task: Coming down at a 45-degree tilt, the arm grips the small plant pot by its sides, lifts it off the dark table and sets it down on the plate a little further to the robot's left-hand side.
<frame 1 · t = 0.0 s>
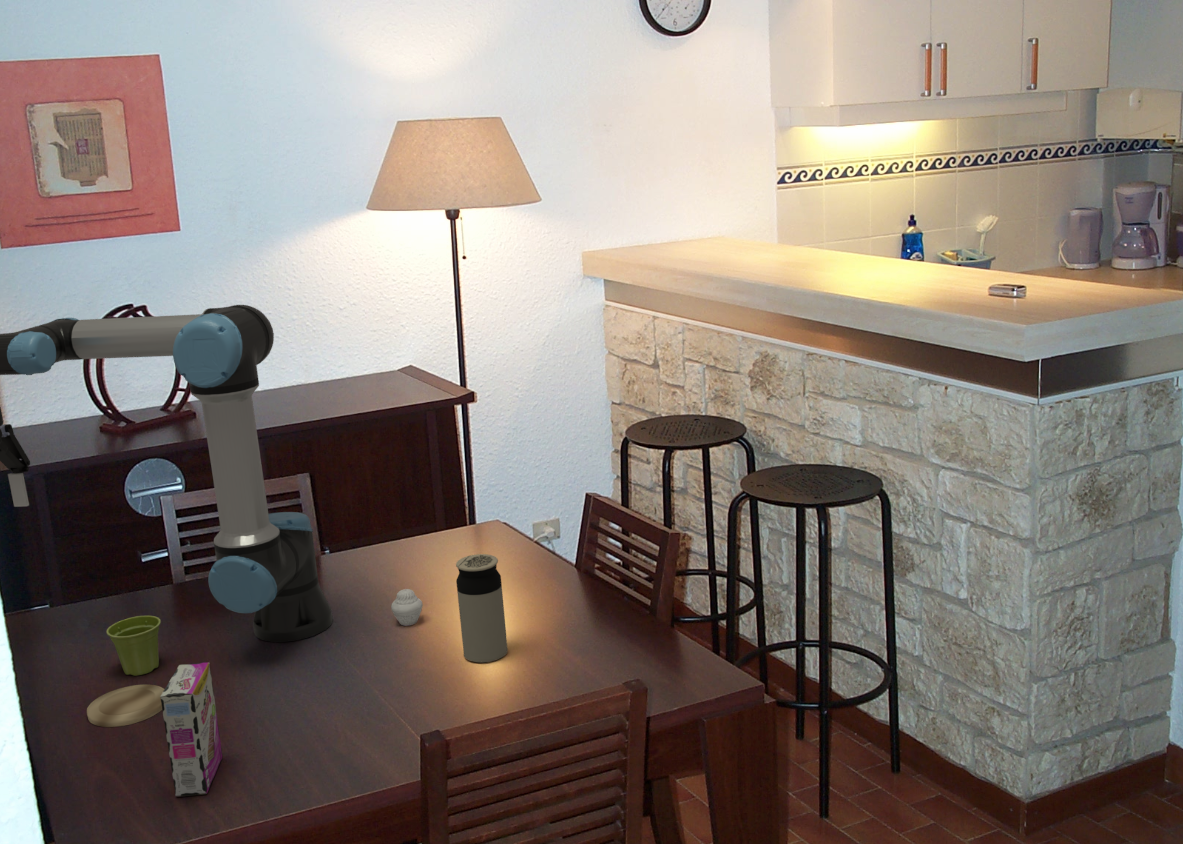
plate: (128, 708, 205), on the table
plant pot: (141, 670, 221), on the table
travel mug: (486, 655, 217), on the table
muffin: (408, 623, 233), on the table
candy bar box: (201, 778, 181), on the table
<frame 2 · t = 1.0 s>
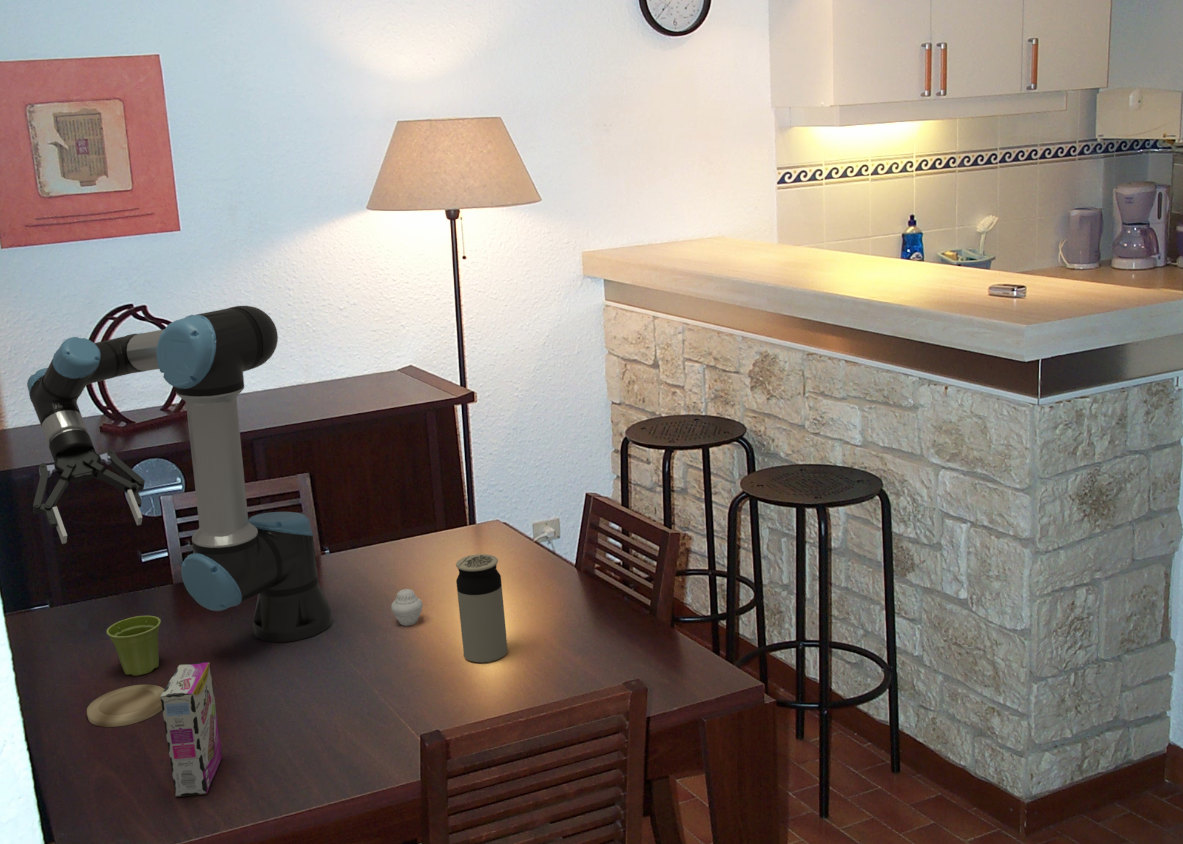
hand: (103, 530, 223), 25 cm above the table, tool tilted 45°, fingers open, 13 cm apart
nothing on the table moved.
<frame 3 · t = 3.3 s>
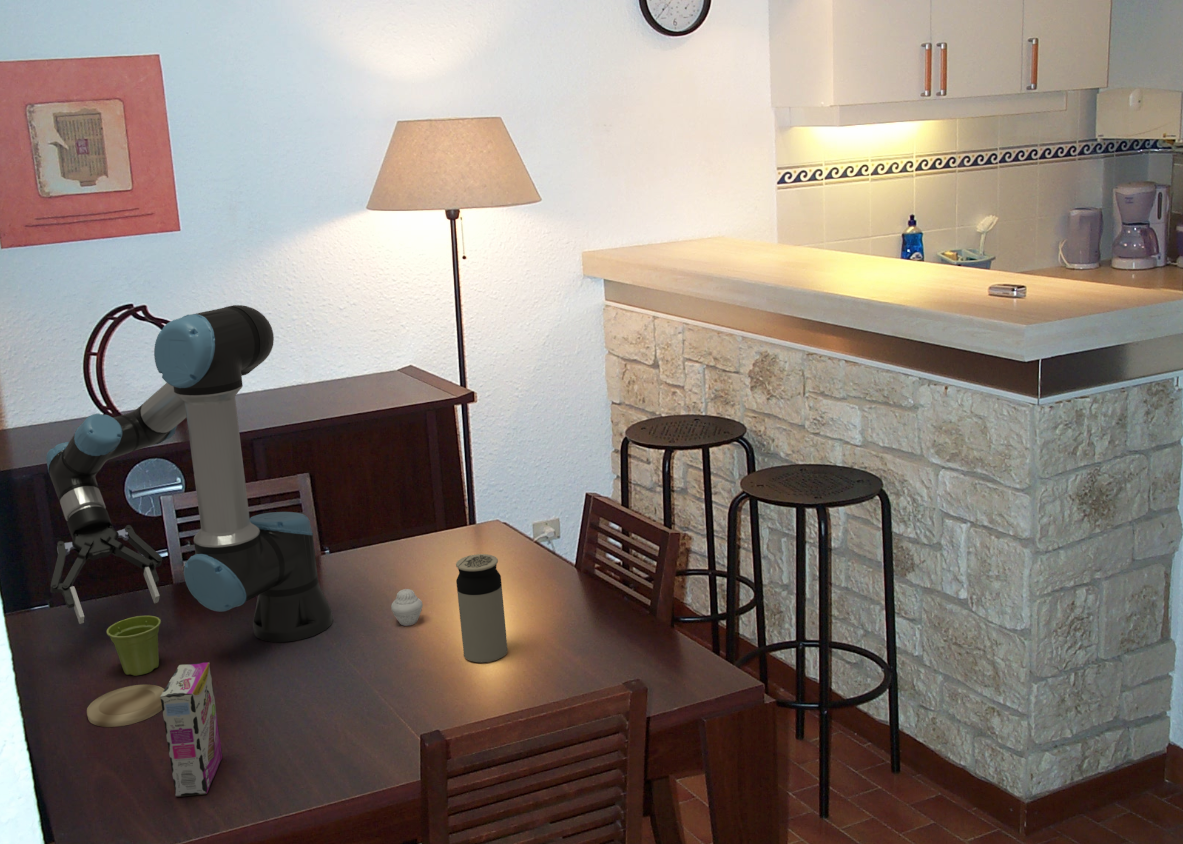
hand: (120, 609, 223), 10 cm above the table, tool tilted 45°, fingers open, 13 cm apart
nothing on the table moved.
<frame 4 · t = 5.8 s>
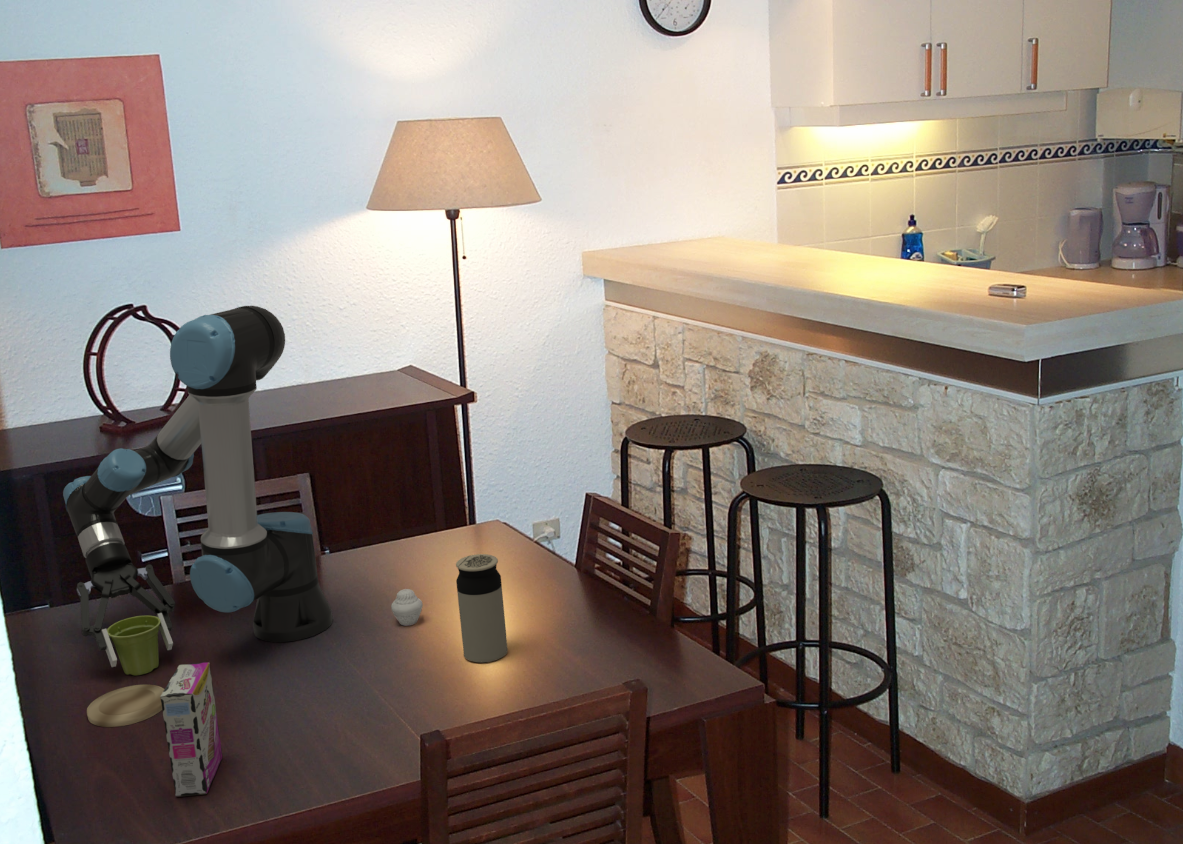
hand: (142, 655, 217), 4 cm above the table, tool tilted 45°, fingers closed on plant pot, 9 cm apart
plant pot: (141, 669, 221), on the table, touching gripper
everything else where it was.
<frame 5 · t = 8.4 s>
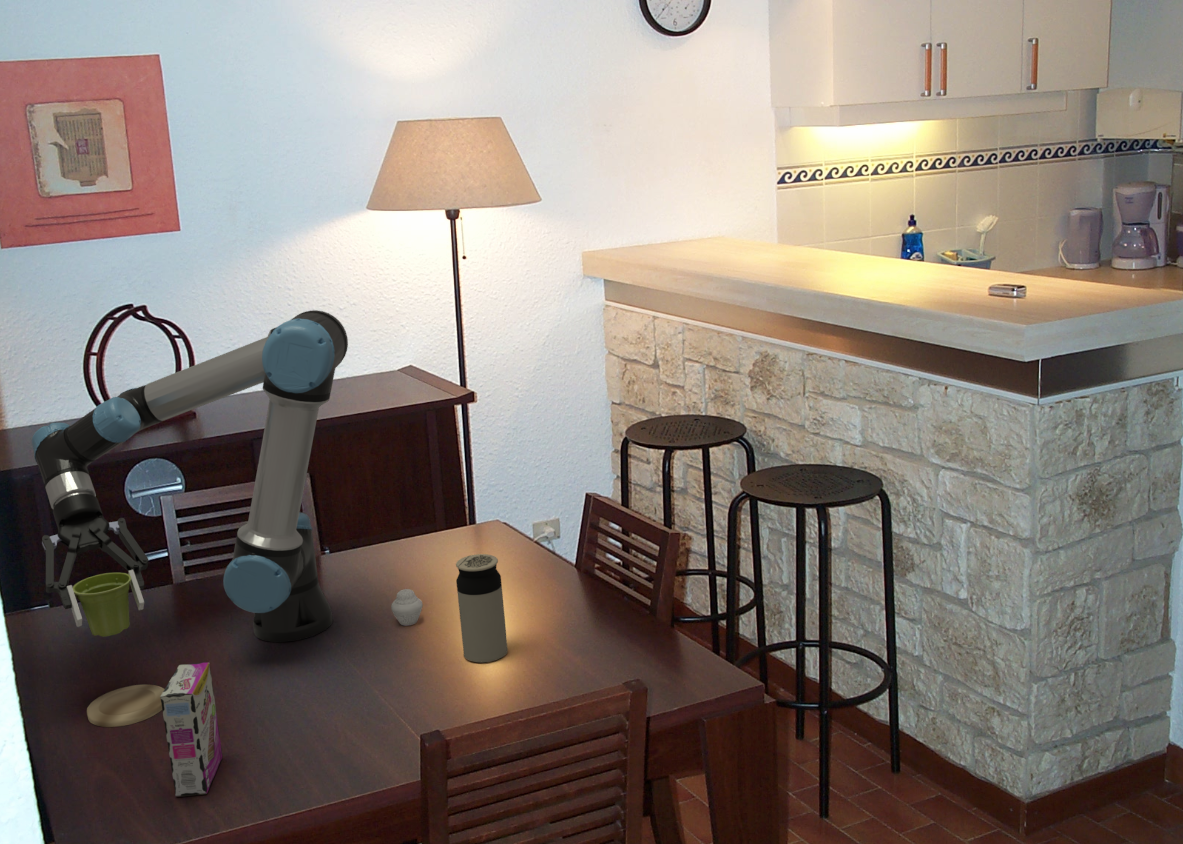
hand: (110, 614, 200), 18 cm above the table, tool tilted 45°, fingers closed on plant pot, 9 cm apart
plant pot: (110, 631, 204), point 14 cm above the table, touching gripper
everything else where it was.
when the fingers open (6 cm above the table, at t = 11.2 s): plant pot drops 1 cm, resting on plate.
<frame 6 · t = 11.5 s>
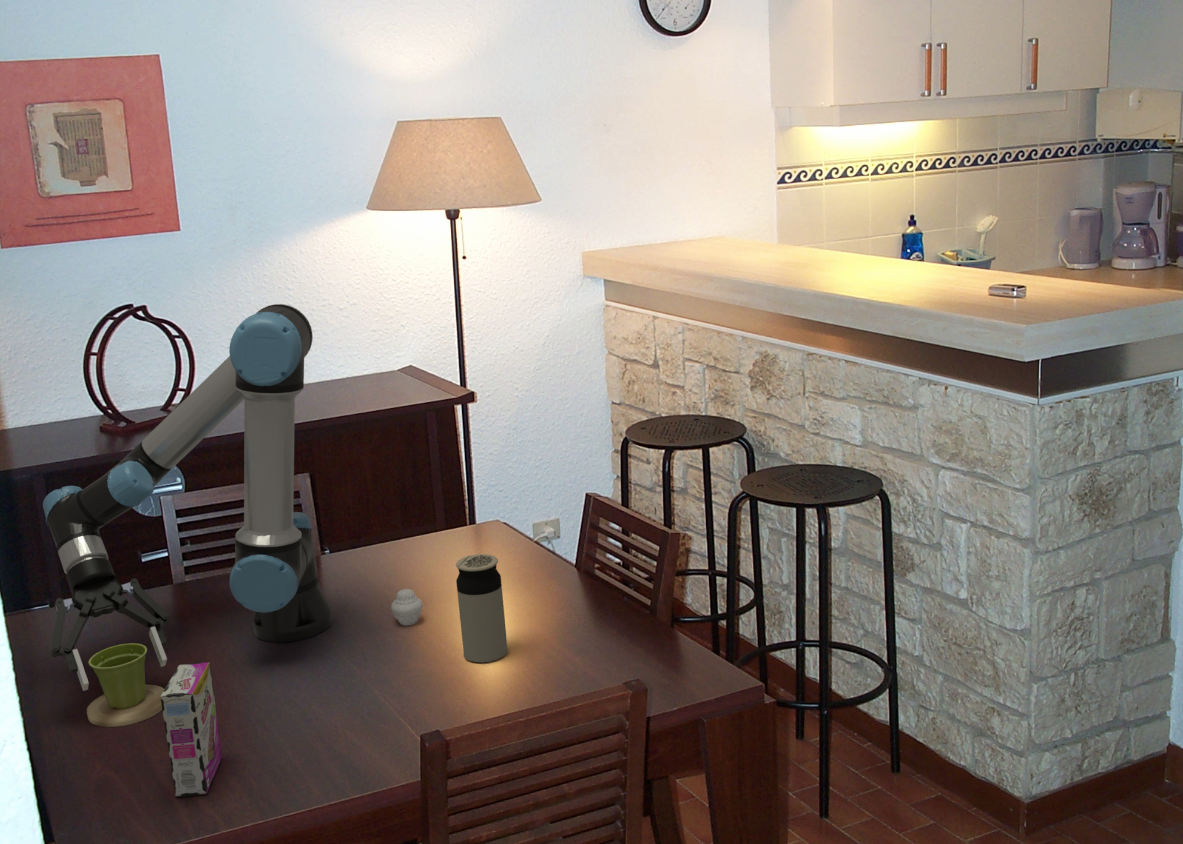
hand: (125, 675, 202), 7 cm above the table, tool tilted 45°, fingers open, 12 cm apart
plant pot: (127, 702, 205), point 1 cm above the table, touching plate
everything else where it was.
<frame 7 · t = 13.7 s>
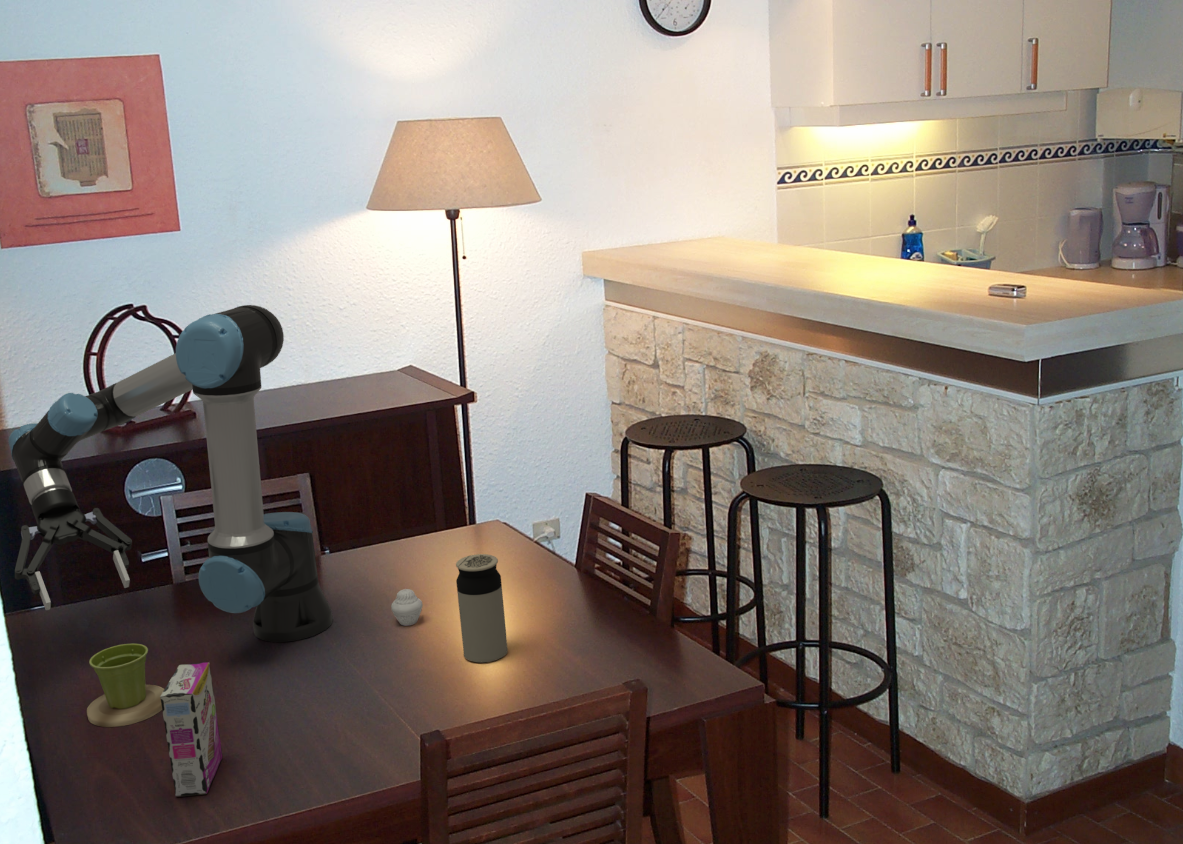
hand: (88, 595, 213), 17 cm above the table, tool tilted 45°, fingers open, 13 cm apart
nothing on the table moved.
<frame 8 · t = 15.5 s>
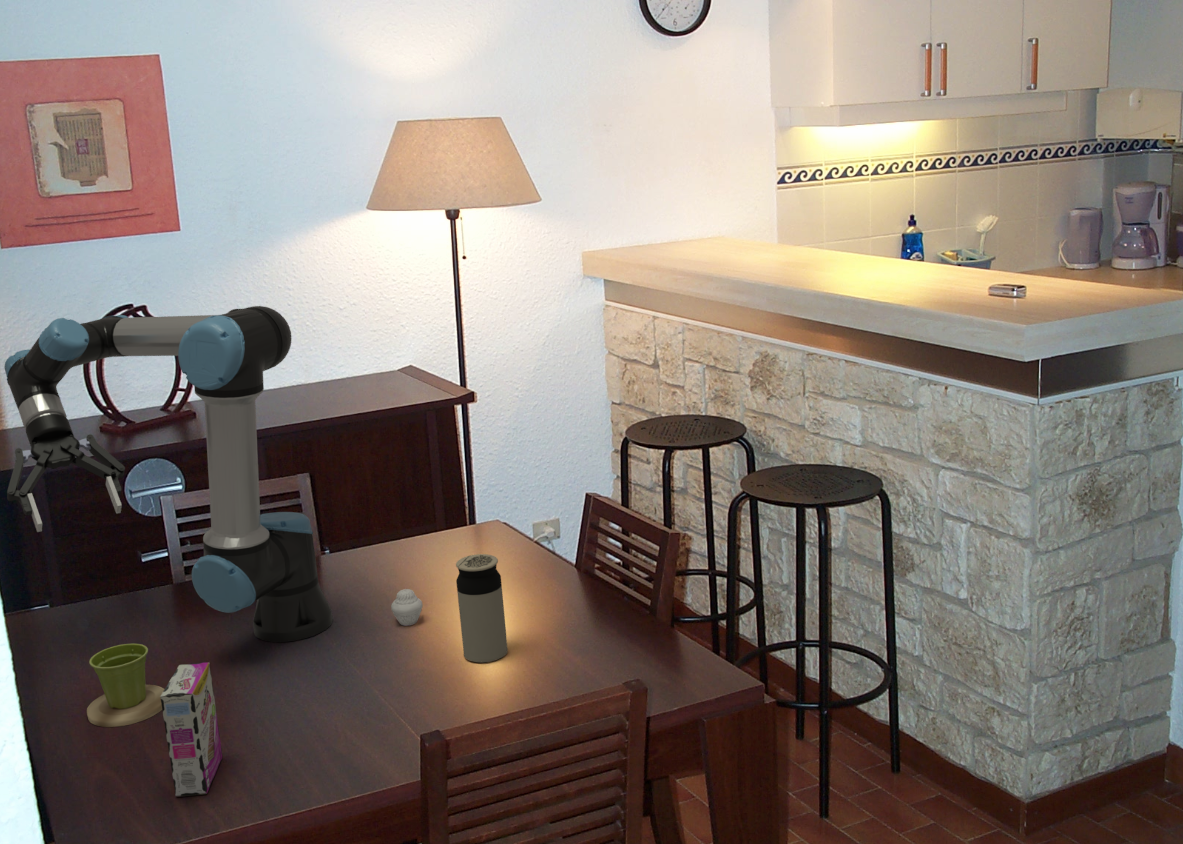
hand: (80, 518, 214), 30 cm above the table, tool tilted 45°, fingers open, 13 cm apart
nothing on the table moved.
at the end: plant pot inside the target area on the plate (0.1 cm from its centre), point 1.1 cm above the plate's base; plant pot tilted 0°; the gripper is holding nothing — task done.
